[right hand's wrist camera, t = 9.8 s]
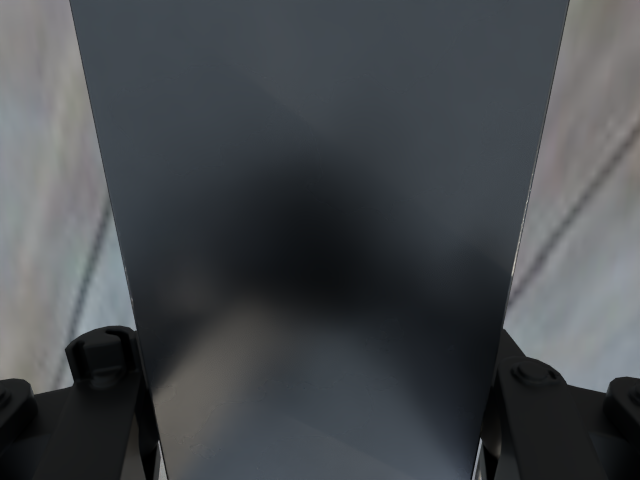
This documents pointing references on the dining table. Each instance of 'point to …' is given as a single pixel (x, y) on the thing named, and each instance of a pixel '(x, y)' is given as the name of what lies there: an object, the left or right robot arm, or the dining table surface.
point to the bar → (319, 220)
